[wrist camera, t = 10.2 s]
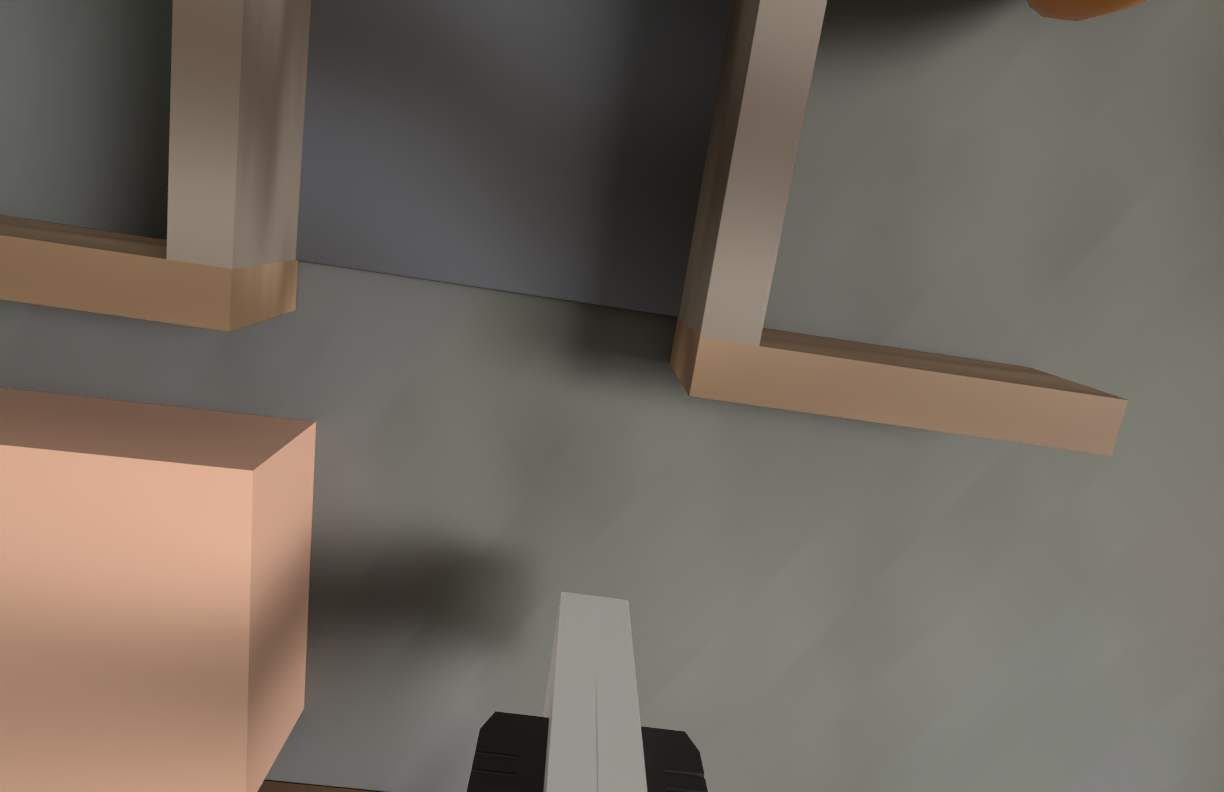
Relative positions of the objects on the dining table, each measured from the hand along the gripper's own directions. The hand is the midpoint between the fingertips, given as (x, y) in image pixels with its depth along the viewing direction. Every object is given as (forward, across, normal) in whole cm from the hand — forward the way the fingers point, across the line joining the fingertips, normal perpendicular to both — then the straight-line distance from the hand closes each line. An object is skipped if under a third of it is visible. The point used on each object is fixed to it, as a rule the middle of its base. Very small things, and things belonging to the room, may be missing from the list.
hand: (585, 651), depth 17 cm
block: (+3, -11, -1) cm, 12 cm away
